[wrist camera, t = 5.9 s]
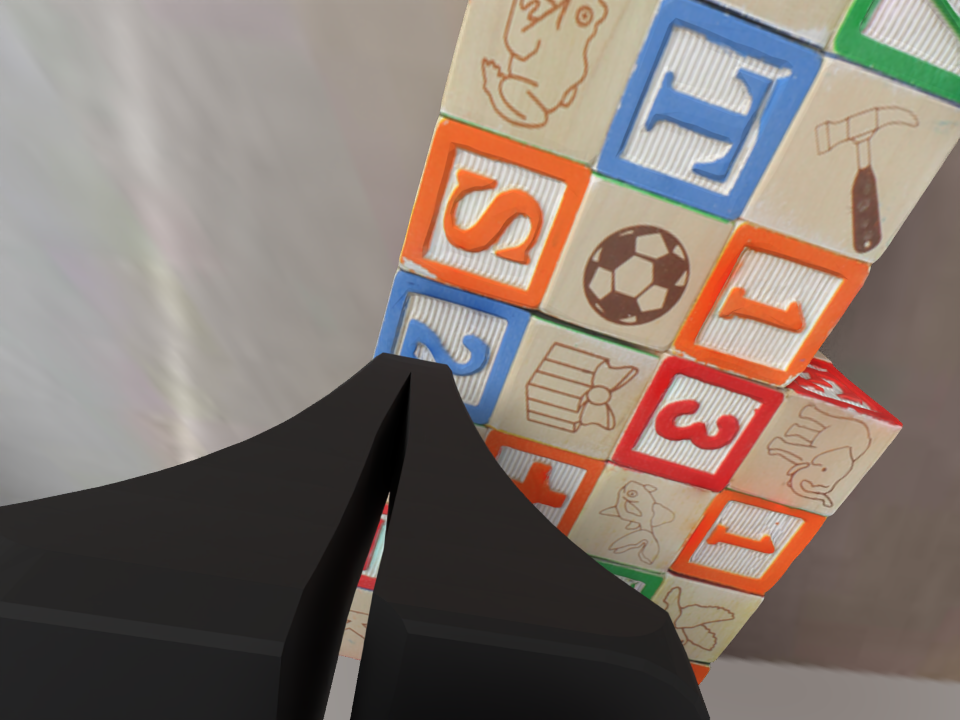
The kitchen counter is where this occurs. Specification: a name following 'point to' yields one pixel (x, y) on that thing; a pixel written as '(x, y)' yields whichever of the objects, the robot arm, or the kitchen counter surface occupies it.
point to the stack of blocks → (670, 270)
